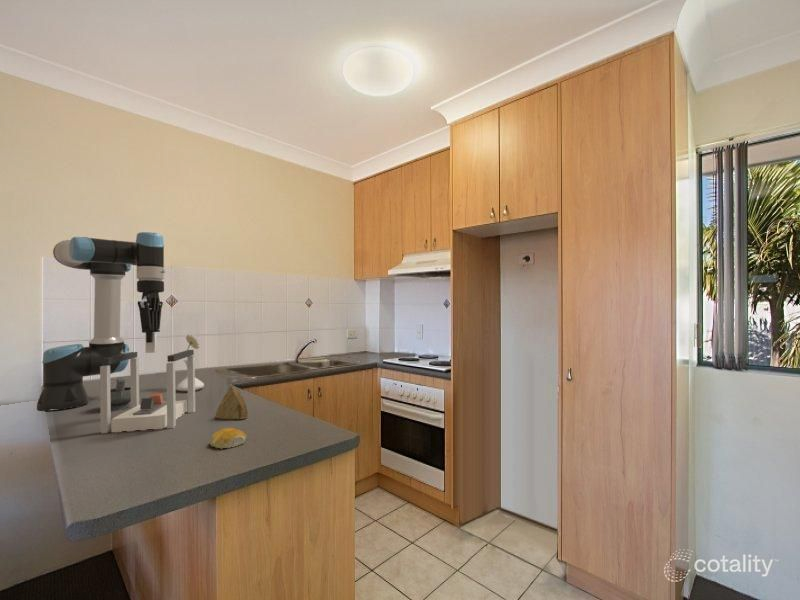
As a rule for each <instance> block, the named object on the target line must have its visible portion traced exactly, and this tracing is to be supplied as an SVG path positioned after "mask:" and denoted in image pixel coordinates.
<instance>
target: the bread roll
mask: <svg viewBox="0 0 800 600" xmlns="http://www.w3.org/2000/svg"><path fill="white" fill-rule="evenodd" d="M246 440H247V435H246V433H245V432H244V431H242V430H241V429H237V428H234V427H226V428H225V427H224V428H222V429H219V430H217V431H216V432H214V433H213V434H212V436H211V439H210V441H209V443H210V446H211V447H213V448H216V449H218V448H220V449H219V450H223V448H227V449H232V448H235V446H236V447H239V446H241V444H242V445H243V444H244V443H245V442H246ZM238 445H239V446H238ZM231 447H232V448H231Z"/></svg>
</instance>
